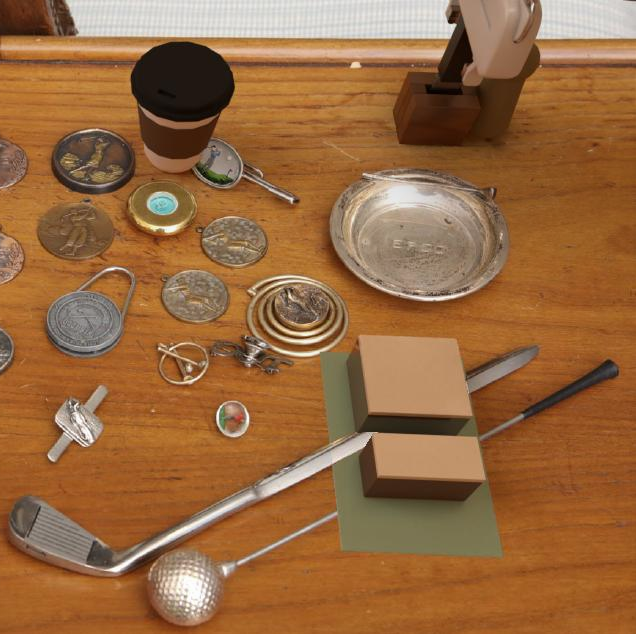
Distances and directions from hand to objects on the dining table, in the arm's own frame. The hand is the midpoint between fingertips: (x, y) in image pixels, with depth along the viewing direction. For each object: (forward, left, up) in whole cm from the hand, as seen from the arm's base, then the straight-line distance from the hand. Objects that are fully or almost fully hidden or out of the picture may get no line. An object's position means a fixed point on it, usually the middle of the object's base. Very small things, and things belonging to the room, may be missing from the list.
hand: (460, 49), depth 97 cm
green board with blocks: (+9, +42, -12) cm, 44 cm away
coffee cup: (+30, +6, -12) cm, 32 cm away
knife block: (0, 0, -12) cm, 12 cm away
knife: (0, 0, -12) cm, 12 cm away
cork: (-7, -2, -12) cm, 14 cm away
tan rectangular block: (+9, +45, -11) cm, 47 cm away
